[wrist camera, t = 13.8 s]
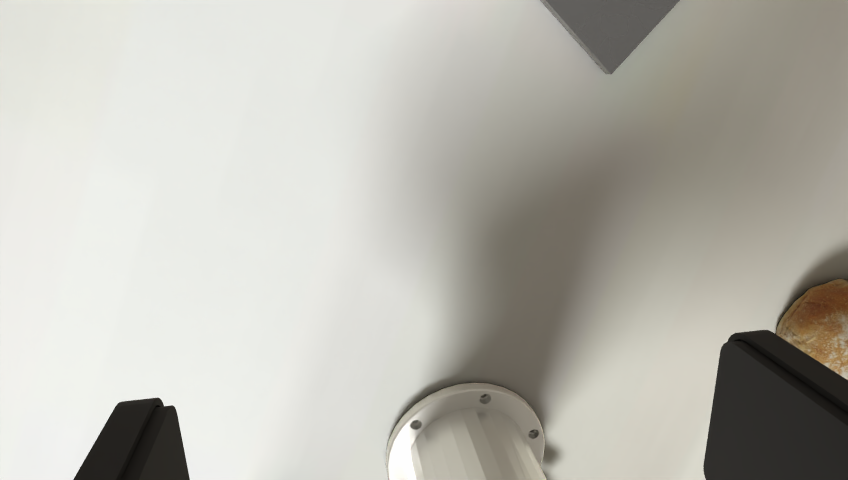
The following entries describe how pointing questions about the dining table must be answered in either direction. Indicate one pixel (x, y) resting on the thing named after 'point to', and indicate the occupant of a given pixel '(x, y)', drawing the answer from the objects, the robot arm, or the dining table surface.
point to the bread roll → (820, 325)
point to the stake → (609, 25)
